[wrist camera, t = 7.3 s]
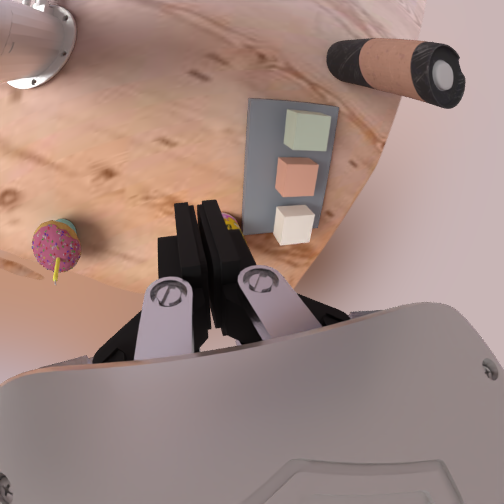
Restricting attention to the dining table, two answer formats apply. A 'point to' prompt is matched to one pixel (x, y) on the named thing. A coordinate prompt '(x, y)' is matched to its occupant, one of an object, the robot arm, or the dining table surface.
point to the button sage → (306, 130)
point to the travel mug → (400, 68)
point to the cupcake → (56, 246)
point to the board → (266, 160)
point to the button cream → (293, 224)
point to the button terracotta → (296, 176)
